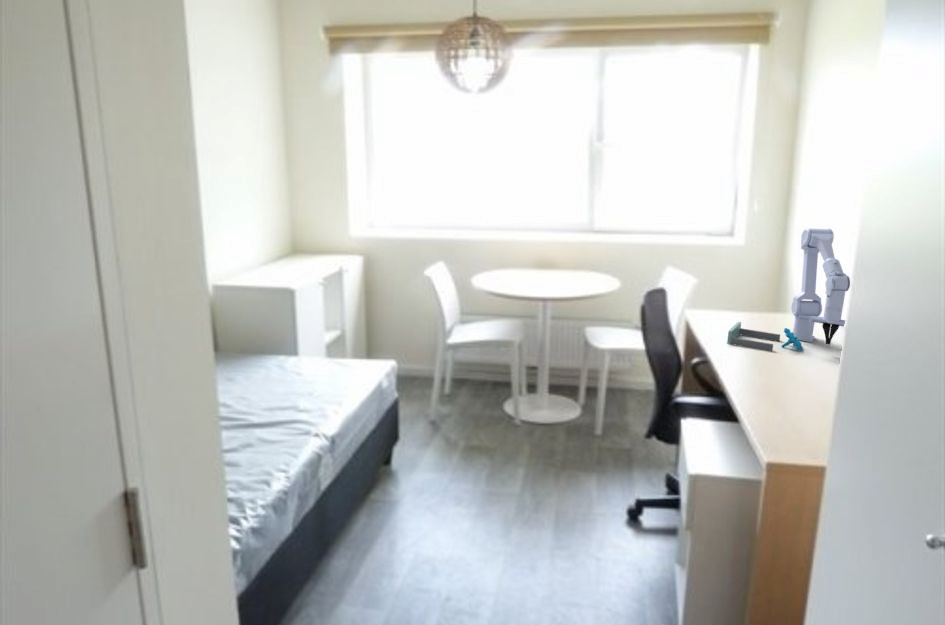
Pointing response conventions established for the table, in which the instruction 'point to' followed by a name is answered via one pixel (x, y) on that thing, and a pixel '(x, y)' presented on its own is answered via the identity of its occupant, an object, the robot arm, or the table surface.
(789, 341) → the gear
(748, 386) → the table surface
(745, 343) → the grey open frame
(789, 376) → the table surface
